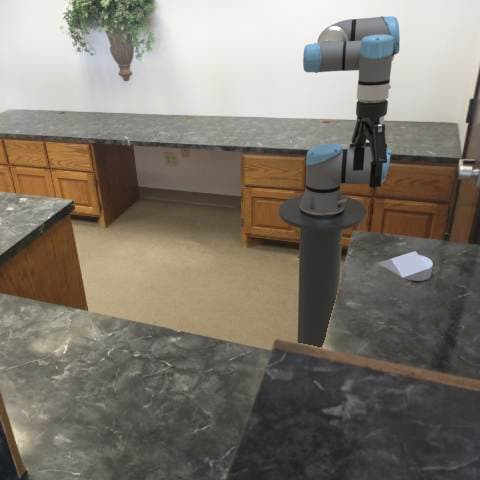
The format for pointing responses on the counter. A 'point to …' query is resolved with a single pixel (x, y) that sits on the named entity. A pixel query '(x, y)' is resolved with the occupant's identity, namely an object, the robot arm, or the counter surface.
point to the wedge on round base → (410, 266)
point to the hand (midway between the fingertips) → (366, 178)
